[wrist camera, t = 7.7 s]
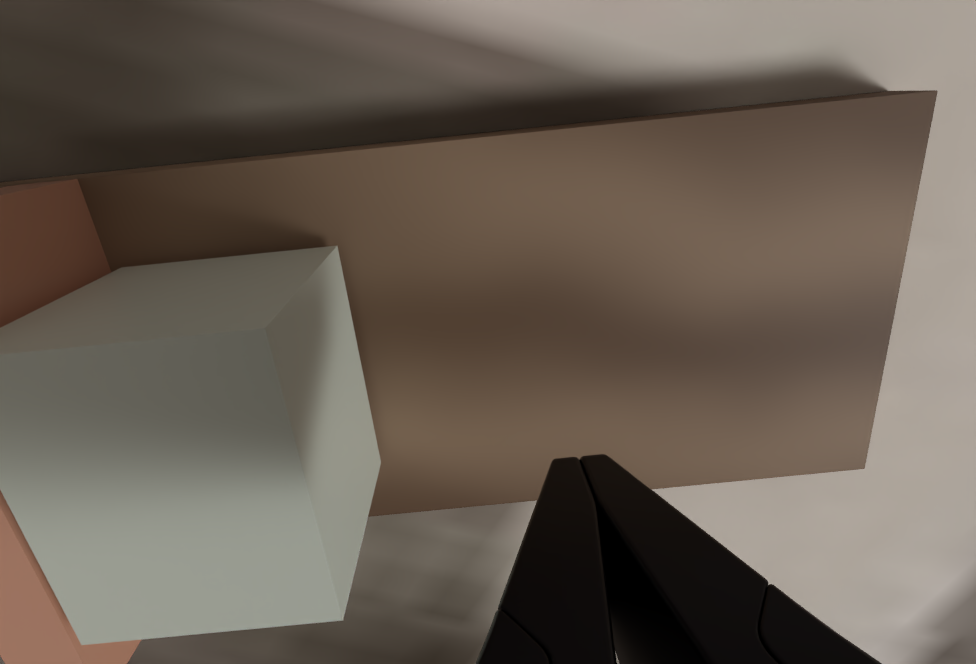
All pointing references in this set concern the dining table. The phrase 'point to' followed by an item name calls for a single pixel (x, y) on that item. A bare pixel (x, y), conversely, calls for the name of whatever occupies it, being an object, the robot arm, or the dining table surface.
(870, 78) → the dining table surface
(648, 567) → the robot arm
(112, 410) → the pale sage green cube
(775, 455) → the brown boxy piece
